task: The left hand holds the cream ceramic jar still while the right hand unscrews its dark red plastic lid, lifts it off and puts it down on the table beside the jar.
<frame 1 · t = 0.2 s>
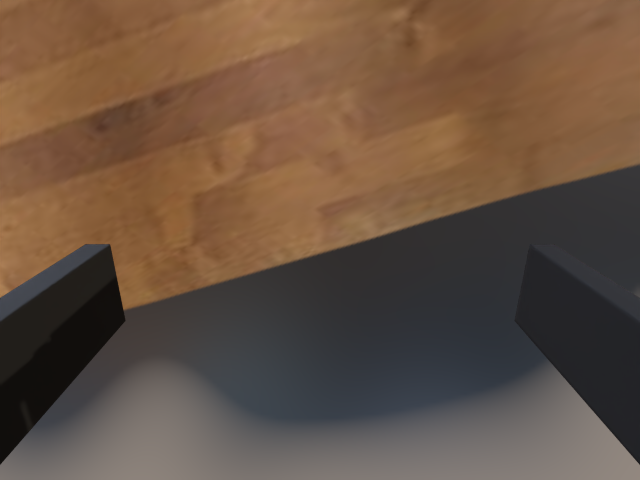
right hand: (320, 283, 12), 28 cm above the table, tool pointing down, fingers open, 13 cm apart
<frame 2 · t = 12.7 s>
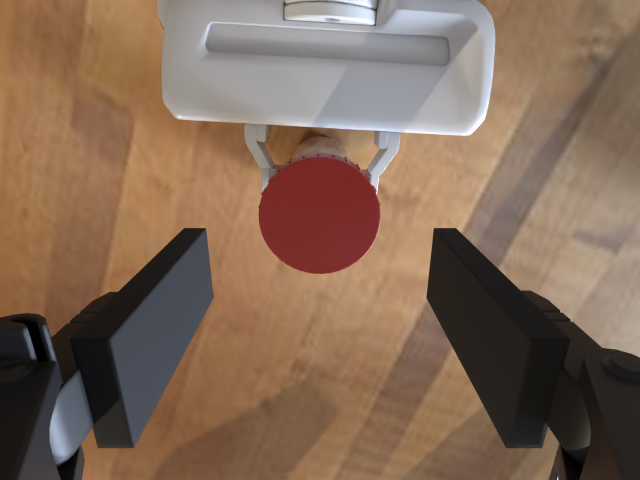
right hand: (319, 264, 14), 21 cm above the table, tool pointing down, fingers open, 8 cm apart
left hand: (319, 194, 27), fingers closed on jar, 5 cm apart
lid: (319, 216, 19), point 15 cm above the table, screwed on, not yet turned
jar: (319, 166, 33), on the table, touching left hand
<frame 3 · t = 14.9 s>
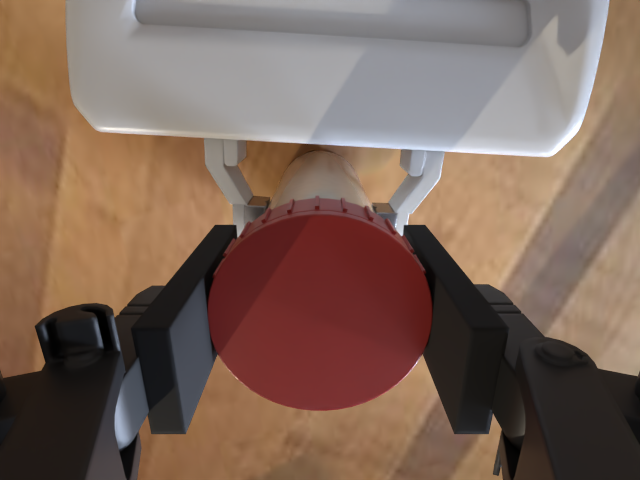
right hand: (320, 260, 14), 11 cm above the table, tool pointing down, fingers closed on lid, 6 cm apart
lid: (319, 315, 11), point 15 cm above the table, screwed on, not yet turned, touching right hand
jar: (320, 191, 25), on the table, touching left hand
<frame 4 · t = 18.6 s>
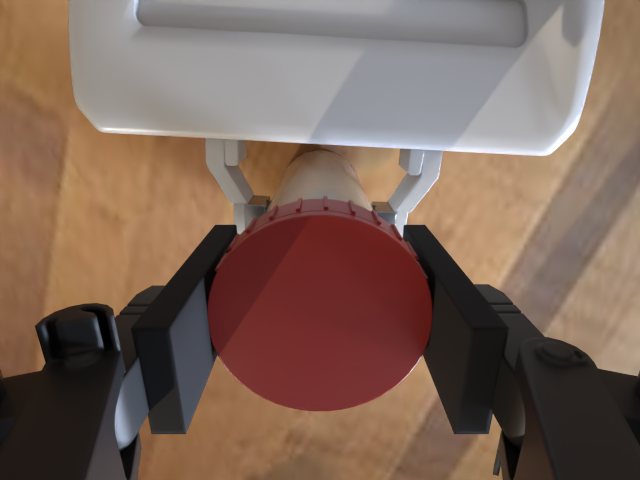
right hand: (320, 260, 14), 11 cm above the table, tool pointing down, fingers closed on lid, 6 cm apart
lid: (320, 316, 11), point 15 cm above the table, turned 129° so far, risen 0.2 cm, still on its thread, touching right hand
jar: (320, 190, 25), on the table, touching left hand
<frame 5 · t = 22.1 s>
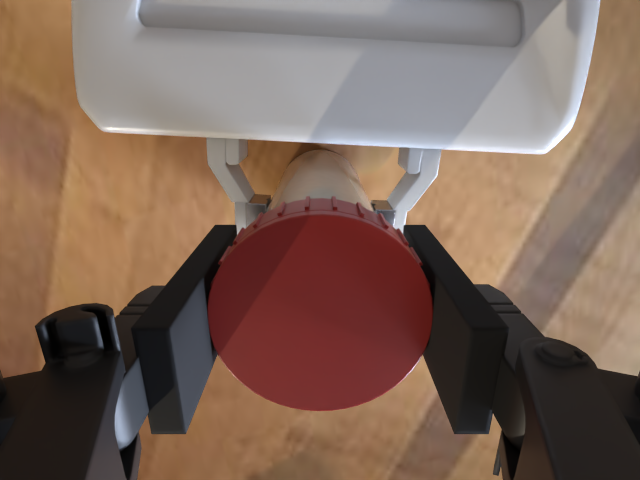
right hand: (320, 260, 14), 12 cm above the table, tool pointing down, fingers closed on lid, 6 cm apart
lid: (320, 315, 11), point 15 cm above the table, turned 258° so far, risen 0.4 cm, still on its thread, touching right hand
jar: (320, 189, 25), on the table, touching left hand
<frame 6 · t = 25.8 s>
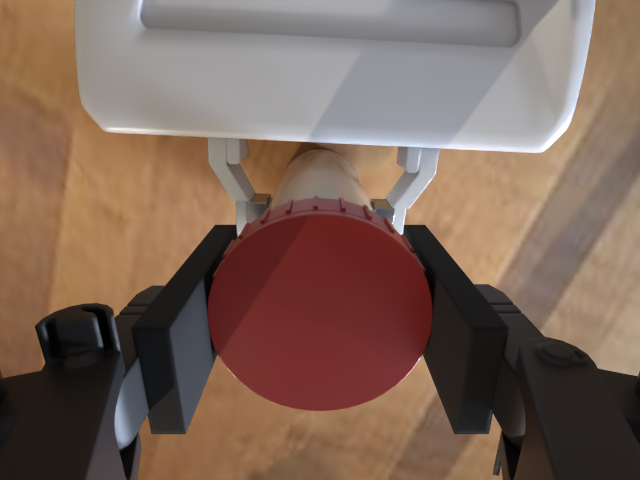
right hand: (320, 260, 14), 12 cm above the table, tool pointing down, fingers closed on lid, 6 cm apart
lid: (320, 315, 11), point 16 cm above the table, turned 387° so far, risen 0.7 cm, still on its thread, touching right hand
jar: (320, 188, 25), on the table, touching left hand
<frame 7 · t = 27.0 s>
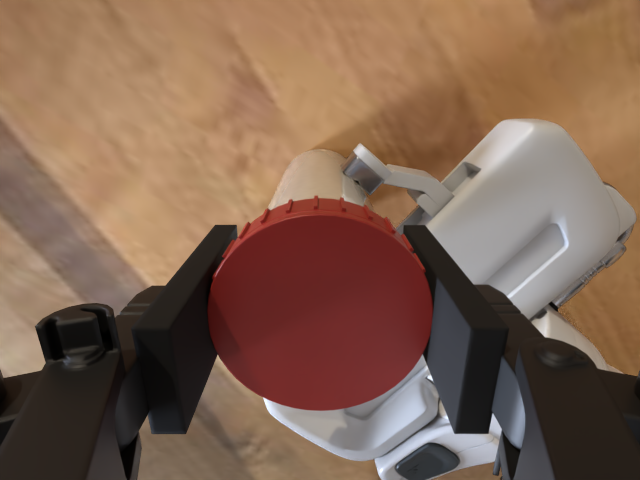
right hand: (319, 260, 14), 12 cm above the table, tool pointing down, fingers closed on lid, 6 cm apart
left hand: (305, 206, 19), fingers closed on jar, 5 cm apart
lid: (320, 315, 11), point 16 cm above the table, off its thread, touching right hand
jar: (320, 188, 25), on the table, touching left hand
when the right hand's fingers open (0 cm above the table, at t = 31.9 s): lid drops 3 cm, point 1 cm above the table.
when the left hand's fingers open (7 cm above the table, at t = 33.1 s): jar stays where it is, on the table.
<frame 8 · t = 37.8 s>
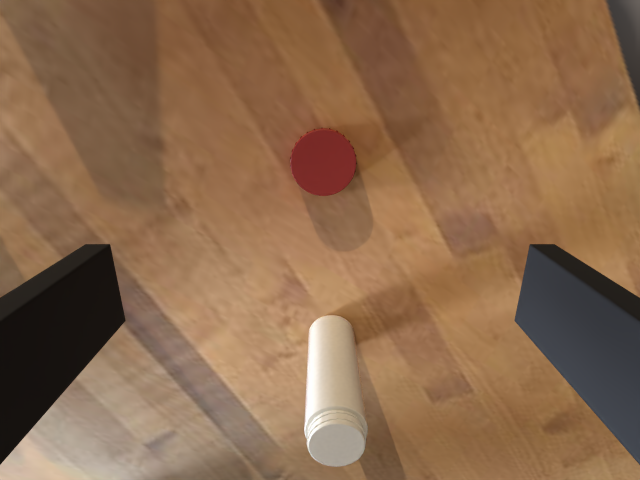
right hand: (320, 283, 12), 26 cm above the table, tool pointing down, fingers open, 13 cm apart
lid: (323, 163, 35), point 1 cm above the table, off its thread
jar: (331, 334, 43), on the table
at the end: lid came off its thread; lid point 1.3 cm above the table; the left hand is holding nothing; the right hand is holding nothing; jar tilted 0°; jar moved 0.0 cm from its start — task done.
